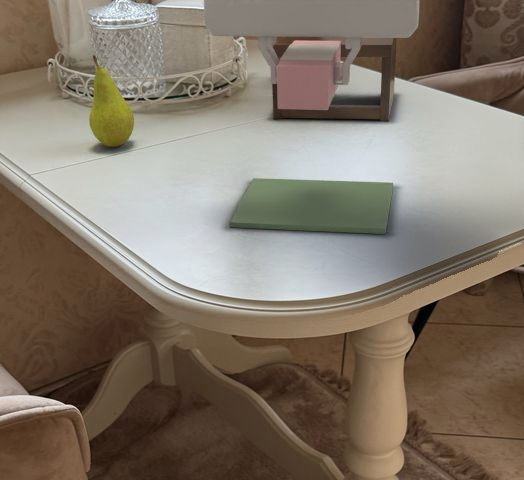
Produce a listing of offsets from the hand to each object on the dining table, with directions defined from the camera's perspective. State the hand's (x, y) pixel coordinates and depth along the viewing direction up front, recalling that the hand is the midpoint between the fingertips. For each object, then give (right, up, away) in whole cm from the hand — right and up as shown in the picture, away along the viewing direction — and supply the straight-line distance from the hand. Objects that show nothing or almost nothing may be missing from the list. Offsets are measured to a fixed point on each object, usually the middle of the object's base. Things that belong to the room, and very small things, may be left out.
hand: (310, 83), depth 78 cm
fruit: (-24, +1, +27) cm, 36 cm away
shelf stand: (+6, +9, +36) cm, 38 cm away
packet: (0, -1, +1) cm, 1 cm away
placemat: (+1, -11, +7) cm, 13 cm away
